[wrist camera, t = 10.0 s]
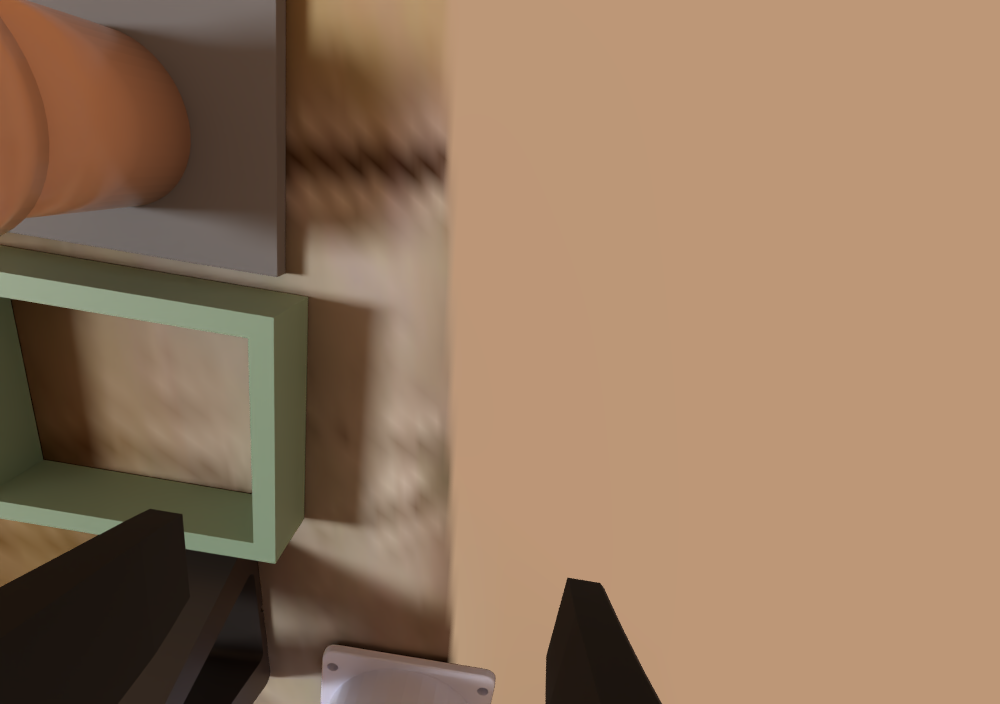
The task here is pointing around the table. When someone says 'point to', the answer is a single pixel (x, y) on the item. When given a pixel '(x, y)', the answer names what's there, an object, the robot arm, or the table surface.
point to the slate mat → (203, 136)
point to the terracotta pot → (82, 117)
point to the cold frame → (120, 496)
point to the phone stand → (211, 639)
